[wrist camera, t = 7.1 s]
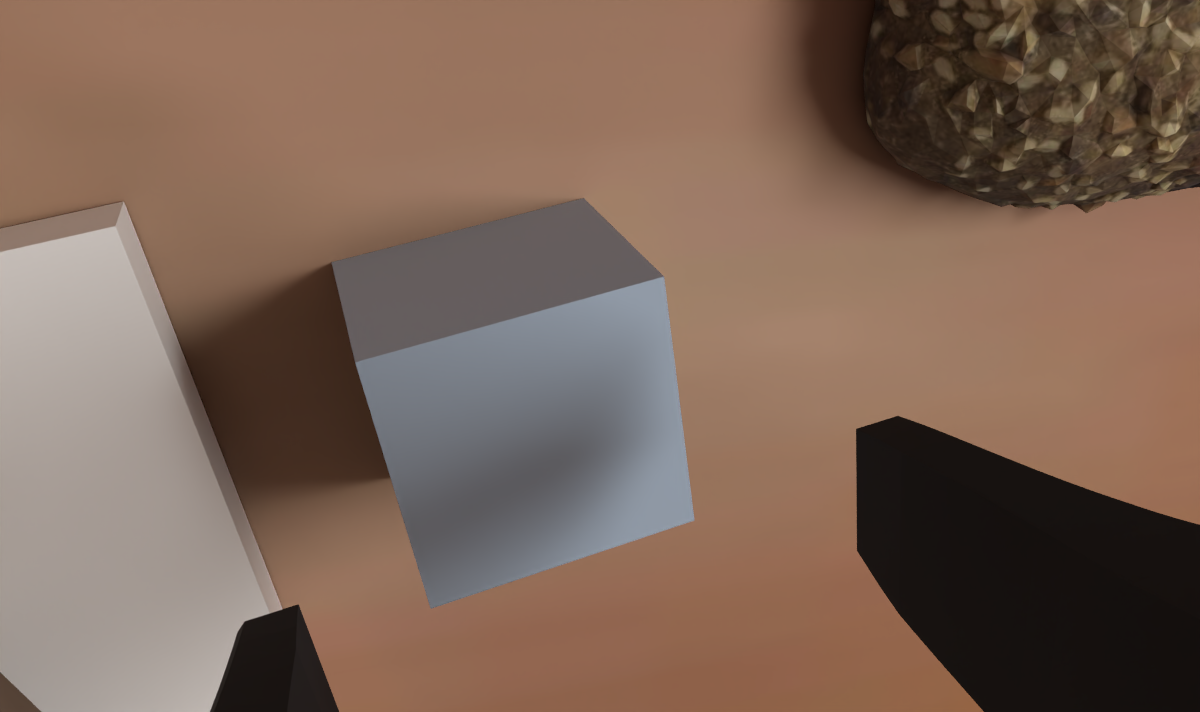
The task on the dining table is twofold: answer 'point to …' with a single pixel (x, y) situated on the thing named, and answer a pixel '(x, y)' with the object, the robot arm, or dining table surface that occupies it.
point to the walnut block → (13, 698)
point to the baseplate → (110, 484)
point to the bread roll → (1039, 96)
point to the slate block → (519, 394)
